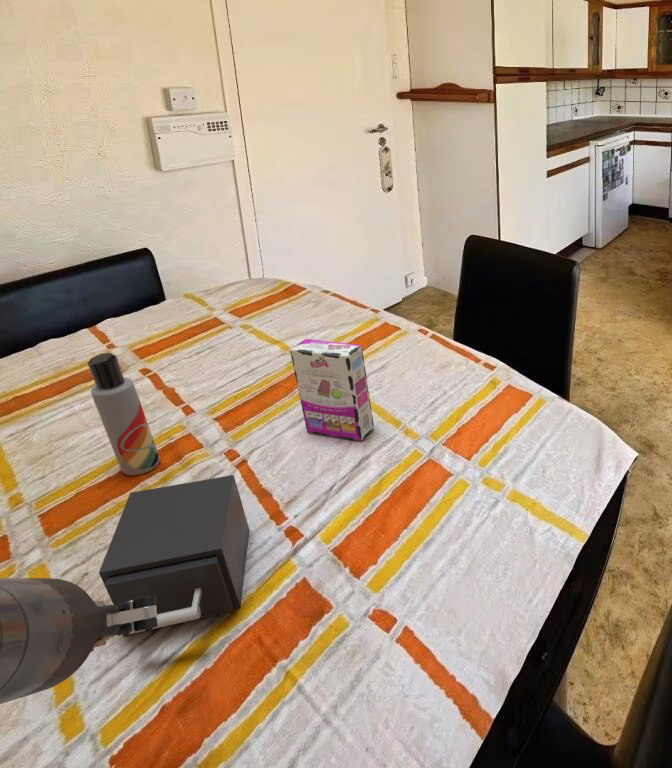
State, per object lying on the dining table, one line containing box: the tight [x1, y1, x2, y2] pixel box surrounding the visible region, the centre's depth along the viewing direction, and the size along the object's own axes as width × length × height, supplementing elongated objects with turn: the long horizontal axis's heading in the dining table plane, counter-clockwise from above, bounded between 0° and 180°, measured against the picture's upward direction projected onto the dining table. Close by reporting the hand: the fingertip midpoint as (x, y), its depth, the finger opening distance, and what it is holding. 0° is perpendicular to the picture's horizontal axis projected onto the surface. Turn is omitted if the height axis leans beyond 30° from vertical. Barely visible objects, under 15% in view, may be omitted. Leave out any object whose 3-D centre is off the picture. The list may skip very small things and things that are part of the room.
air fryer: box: [98, 474, 250, 610], centre depth 78 cm, size 15×13×10 cm
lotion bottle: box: [87, 352, 161, 476], centre depth 97 cm, size 6×6×20 cm
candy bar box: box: [289, 338, 375, 442], centre depth 107 cm, size 11×5×16 cm, turn 73°
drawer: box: [104, 555, 234, 635], centre depth 75 cm, size 18×11×8 cm, turn 16°
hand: (114, 622), depth 56 cm, fingers closed
